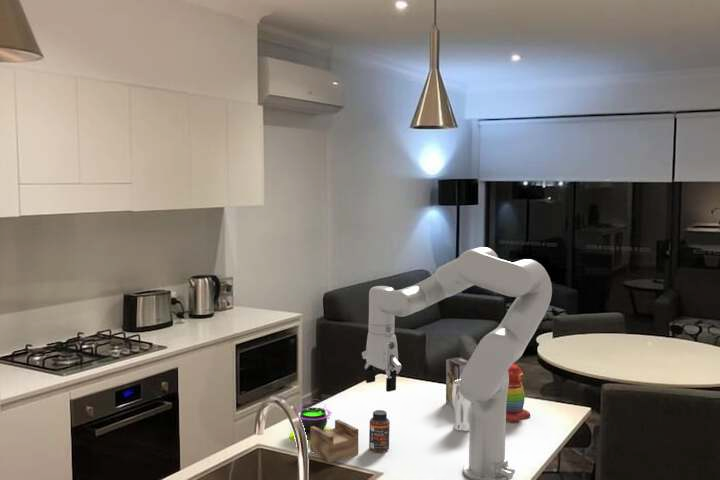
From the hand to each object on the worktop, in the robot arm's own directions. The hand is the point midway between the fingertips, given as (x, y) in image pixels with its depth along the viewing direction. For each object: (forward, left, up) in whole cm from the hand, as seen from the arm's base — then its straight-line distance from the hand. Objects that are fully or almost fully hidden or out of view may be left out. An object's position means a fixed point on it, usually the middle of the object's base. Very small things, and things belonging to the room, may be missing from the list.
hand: (380, 386), depth 194 cm
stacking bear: (-5, -53, -19) cm, 56 cm away
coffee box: (+13, -47, -19) cm, 52 cm away
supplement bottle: (0, 0, -19) cm, 19 cm away
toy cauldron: (+21, +10, -19) cm, 30 cm away
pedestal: (+6, +12, -19) cm, 23 cm away
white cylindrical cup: (-3, -32, -19) cm, 37 cm away
